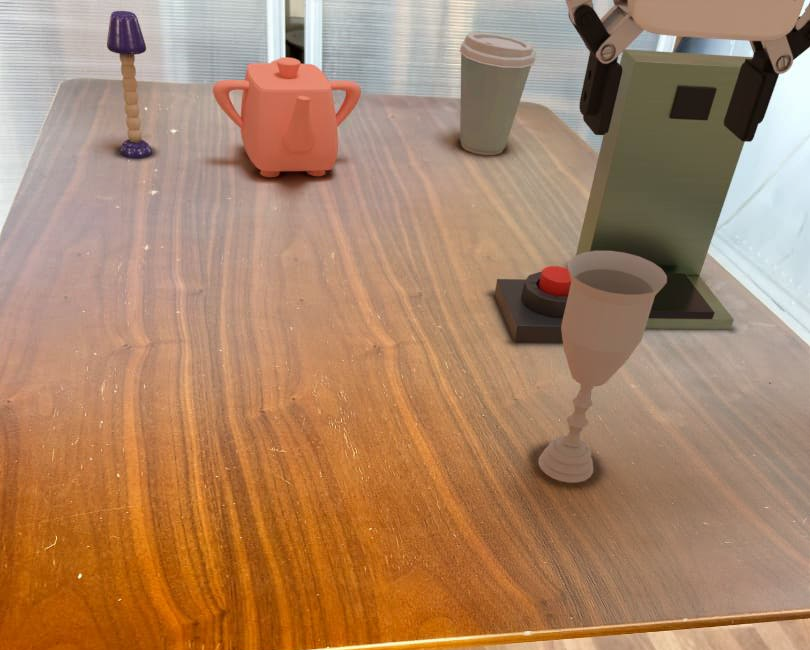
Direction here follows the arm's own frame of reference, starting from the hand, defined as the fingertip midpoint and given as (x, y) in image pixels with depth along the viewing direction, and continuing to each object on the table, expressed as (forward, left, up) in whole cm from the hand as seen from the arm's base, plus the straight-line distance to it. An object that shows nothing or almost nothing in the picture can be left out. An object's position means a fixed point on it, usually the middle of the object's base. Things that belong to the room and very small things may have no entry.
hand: (666, 131), depth 56 cm
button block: (-5, -26, -28) cm, 38 cm away
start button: (-5, -26, -24) cm, 36 cm away
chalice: (0, -1, -28) cm, 28 cm away
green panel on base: (-18, -31, -28) cm, 45 cm away
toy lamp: (+41, -69, -28) cm, 85 cm away
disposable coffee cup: (-8, -76, -28) cm, 81 cm away
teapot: (+21, -66, -28) cm, 75 cm away
